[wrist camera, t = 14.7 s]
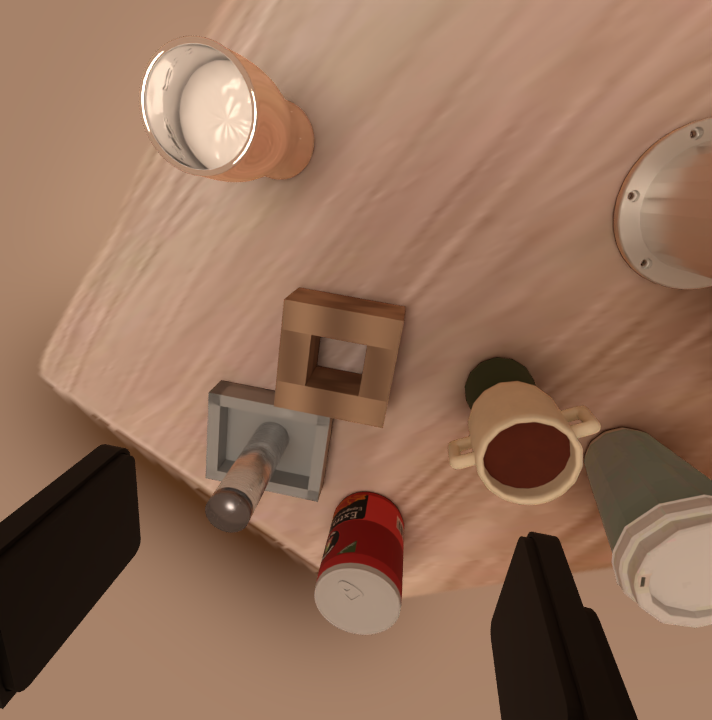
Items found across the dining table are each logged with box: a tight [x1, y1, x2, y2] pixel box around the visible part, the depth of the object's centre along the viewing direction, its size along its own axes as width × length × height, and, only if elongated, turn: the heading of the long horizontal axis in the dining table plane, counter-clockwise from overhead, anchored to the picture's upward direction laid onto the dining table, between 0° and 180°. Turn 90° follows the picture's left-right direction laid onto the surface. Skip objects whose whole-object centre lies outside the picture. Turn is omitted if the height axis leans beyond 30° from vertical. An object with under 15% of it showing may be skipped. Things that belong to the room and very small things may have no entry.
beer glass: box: [139, 36, 314, 182], centre depth 31 cm, size 7×7×15 cm
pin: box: [205, 422, 289, 532], centre depth 41 cm, size 4×4×12 cm
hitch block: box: [274, 288, 405, 428], centre depth 41 cm, size 10×10×5 cm
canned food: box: [315, 492, 404, 635], centre depth 45 cm, size 8×8×11 cm
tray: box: [206, 380, 333, 502], centre depth 46 cm, size 12×10×3 cm
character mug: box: [448, 358, 601, 505], centre depth 37 cm, size 11×7×13 cm, turn 112°
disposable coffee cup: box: [584, 427, 712, 627], centre depth 37 cm, size 11×11×15 cm
